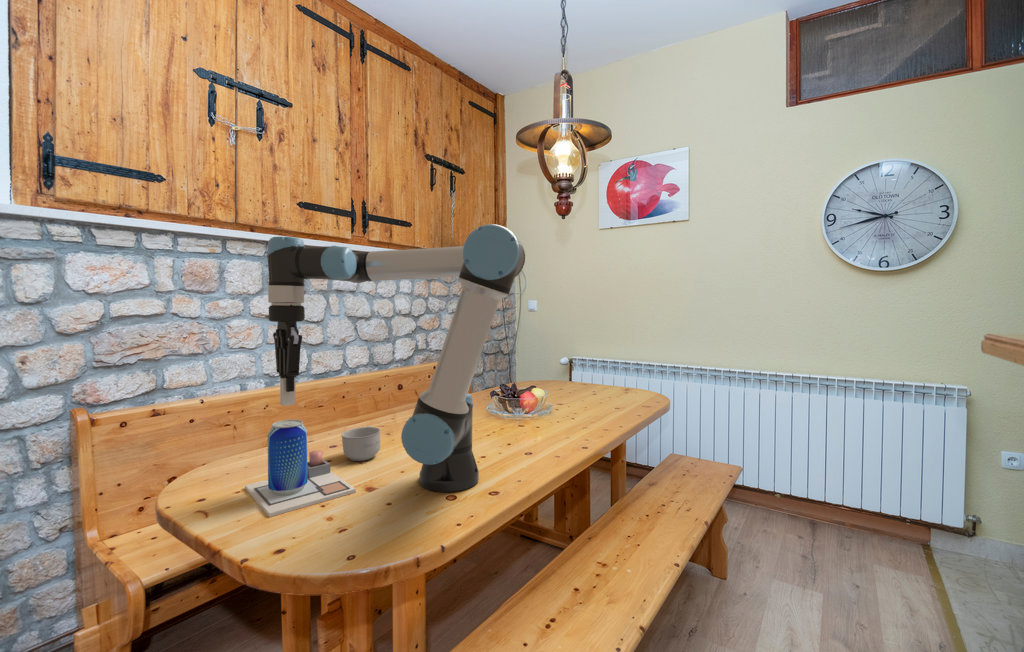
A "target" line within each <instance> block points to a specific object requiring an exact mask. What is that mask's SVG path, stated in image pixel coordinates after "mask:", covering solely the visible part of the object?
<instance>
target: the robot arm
mask: <svg viewBox="0 0 1024 652" xmlns="http://www.w3.org/2000/svg"><path fill="white" fill-rule="evenodd" d="M267 244H268V246H267V247H268V248H267V255H266V256H267V269H268V285H267V292H268V293H267V296H268V297H267V301H268V303H270V305H269V306H268V320H269V321H270V322H277V327H276V329H275V332H273V334H272V337H273V341H274V354H275V364H276V373H277V374H278V375H279V376H278V377H279V387H280V389H279V390H280V391H279V392H280V393H279V395H280V397H279V399H280V404H279V405H281V406H283V407H286V406H293V405H296V404H297V403H296V377H297V376H300V361H301V349H302V348H301V347H302V341H303V335H302V334H300V332H299V328H298V325H297V322H304V321H305V319H306V318H305V315H306V314H305V307H304V305H302V304H304V303H305V295H306V294H307V291H306V290H305V280H331V281H339V282H341V281H342V282H350V283H353V284H354V283H355V284H356V283H357V284H361V283H366V282H376V281H379V282H381V281H397V280H398V281H399V280H420V279H441V278H443V279H445V278H458V281H459V282H460V285H461V288H462V289H461V292H460V294H459V298H458V300H457V303H456V307H455V309H454V312H453V316H452V319H451V321H450V324H449V327H448V330H447V333H446V336H445V339H444V342H443V345H442V347H441V351H440V353H439V354H440V355H439V356H438V360H437V363H436V367H435V369H434V372H433V375H432V379H431V381H430V383H429V387H428V388H427V389H426V390H424V391H422V392H420V393H419V394H418V395H419V396H418V399H417V402H416V404H415V407H414V410H413V414H412V416H409V418H408V419H407V420H406V422H405V424H404V425H403V427H402V430H401V437H400V438H401V444H402V447H403V448H404V450H405V452H406V454H407V455H408V456H409V457H410V458H411V459H412V460H414V461H415V462H417V463H420V464H422V466H421V468H420V471H419V484H420V486H421V487H423V488H424V489H426V490H428V491H432V492H433V491H434V492H440V493H453V492H459V491H464V490H467V489H470V488H472V487H474V486H475V485H477V483H478V482H479V479H480V478H479V468H478V464H477V462H476V459H475V455H474V451H473V413H474V412H473V407H474V404H473V396H472V395H471V393H469V391H470V387H471V385H472V381H473V378H474V376H475V373H476V370H477V366H478V364H479V361H480V358H481V355H482V354H483V350H484V347H485V344H486V341H487V339H488V336H489V335H488V334H489V332H490V328H491V327H492V324H493V320H494V317H495V314H496V312H497V310H498V309H497V308H498V306H499V303H500V301H501V300H502V299H505V298H507V297H509V295H510V292H511V289H512V287H513V284H514V281H515V278H516V277H517V276H518V275H519V274H520V273H521V272H522V270H523V268H524V266H525V263H526V254H525V253H526V252H525V248H524V246H523V244H522V243H521V241H520V240H519V239H518V237H517V235H516V234H515V233H514V232H513V231H512V230H511V229H510V228H507V227H505V226H502V225H500V224H494V223H493V224H491V223H488V224H484V225H480V226H478V227H477V228H475V229H474V230H472V231H471V232H470V233H469V234H468V236H467V237H466V239H465V241H464V244H463V245H461V246H459V245H458V246H446V247H444V246H443V247H429V248H428V247H427V248H426V247H425V248H411V249H410V248H409V249H393V250H391V249H390V250H378V251H377V250H376V251H375V250H373V251H357V252H354V251H353V250H352V249H351V248H350V247H348V246H339V245H331V246H328V245H327V246H326V245H325V246H305V243H304V240H303V238H302V239H301V238H299V237H293V236H273V237H270V239H269V240H268V243H267Z"/></svg>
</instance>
